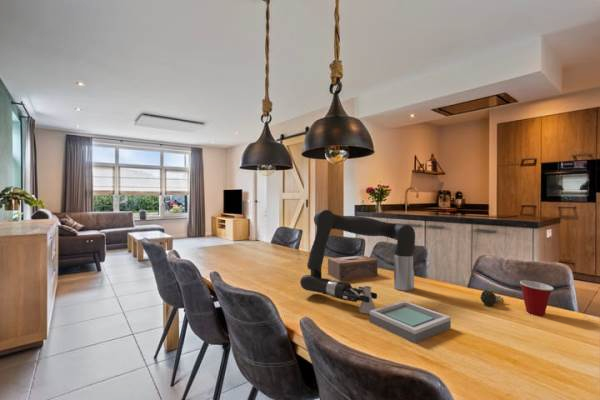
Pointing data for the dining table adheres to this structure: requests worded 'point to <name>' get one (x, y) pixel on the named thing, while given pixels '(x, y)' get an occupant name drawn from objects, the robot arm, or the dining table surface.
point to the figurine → (490, 298)
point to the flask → (366, 306)
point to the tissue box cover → (352, 267)
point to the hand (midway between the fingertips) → (372, 298)
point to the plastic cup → (535, 296)
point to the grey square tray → (410, 321)
